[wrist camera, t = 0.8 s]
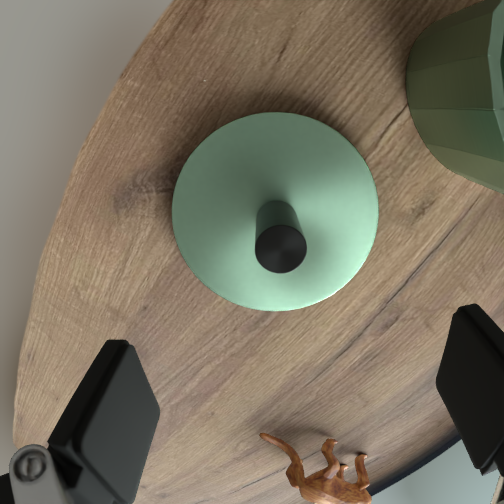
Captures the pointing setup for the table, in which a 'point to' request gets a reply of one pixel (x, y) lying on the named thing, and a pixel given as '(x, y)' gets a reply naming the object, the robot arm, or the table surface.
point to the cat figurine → (325, 477)
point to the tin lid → (275, 211)
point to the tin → (462, 92)
